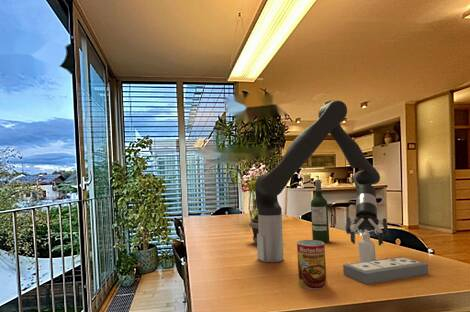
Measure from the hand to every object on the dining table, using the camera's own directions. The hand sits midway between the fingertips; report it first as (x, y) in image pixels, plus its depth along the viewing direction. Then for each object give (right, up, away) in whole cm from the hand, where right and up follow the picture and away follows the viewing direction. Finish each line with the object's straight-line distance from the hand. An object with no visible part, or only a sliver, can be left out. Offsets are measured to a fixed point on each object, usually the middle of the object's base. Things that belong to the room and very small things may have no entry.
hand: (366, 243), depth 107 cm
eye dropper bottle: (0, -7, -1) cm, 7 cm away
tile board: (+1, -6, -12) cm, 13 cm away
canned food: (-24, -7, -19) cm, 32 cm away
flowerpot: (-32, -11, +39) cm, 52 cm away
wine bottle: (-5, -11, +40) cm, 42 cm away
